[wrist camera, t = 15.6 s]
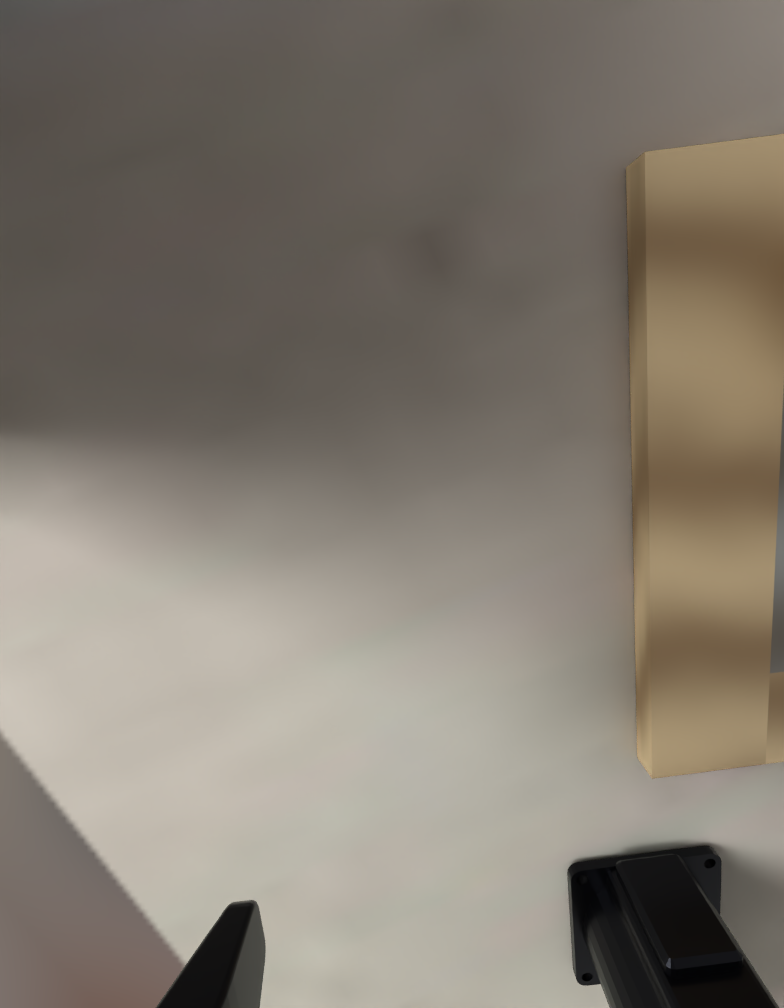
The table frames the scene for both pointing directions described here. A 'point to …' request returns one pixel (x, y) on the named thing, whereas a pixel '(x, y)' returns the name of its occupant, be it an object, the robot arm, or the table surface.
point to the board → (708, 453)
